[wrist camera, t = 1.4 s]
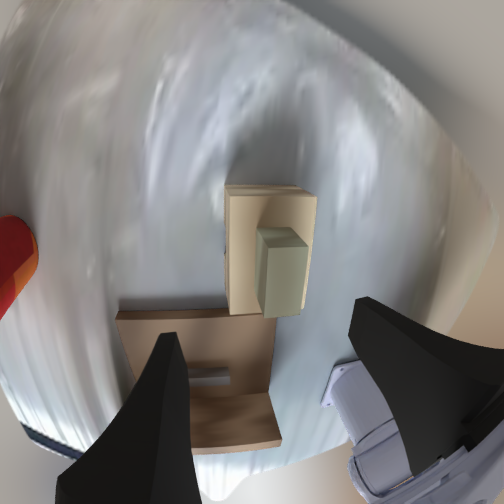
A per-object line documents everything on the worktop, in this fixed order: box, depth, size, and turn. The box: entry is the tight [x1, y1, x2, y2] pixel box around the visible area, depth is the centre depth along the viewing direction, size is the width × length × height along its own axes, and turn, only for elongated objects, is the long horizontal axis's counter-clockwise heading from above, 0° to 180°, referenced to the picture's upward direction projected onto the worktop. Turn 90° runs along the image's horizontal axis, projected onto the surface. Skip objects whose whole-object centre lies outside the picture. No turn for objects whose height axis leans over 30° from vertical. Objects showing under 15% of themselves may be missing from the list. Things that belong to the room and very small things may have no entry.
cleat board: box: [115, 308, 282, 455], centre depth 20 cm, size 13×12×7 cm
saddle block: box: [224, 185, 317, 318], centre depth 17 cm, size 5×8×7 cm, turn 177°
